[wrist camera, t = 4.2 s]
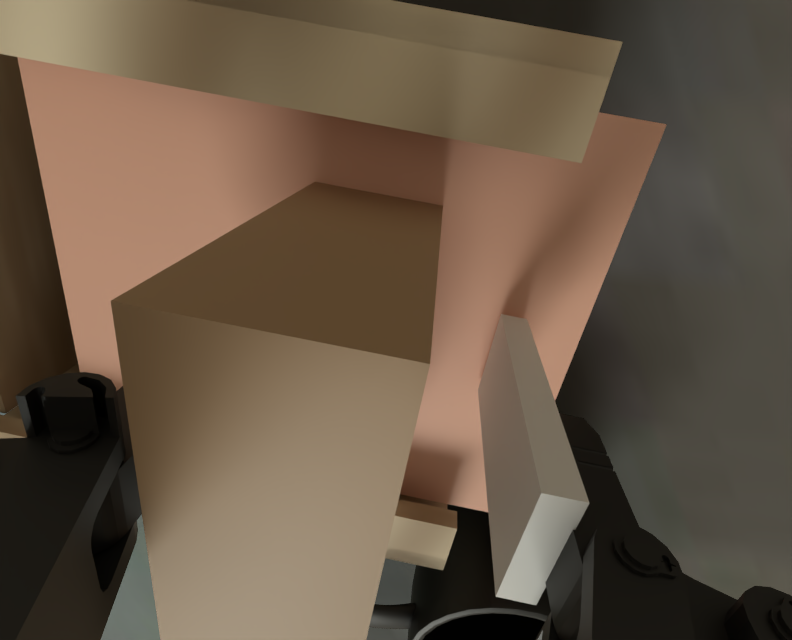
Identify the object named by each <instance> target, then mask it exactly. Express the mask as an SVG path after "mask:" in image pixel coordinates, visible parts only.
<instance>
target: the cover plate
mask: <svg viewBox="0 0 792 640" xmlns="http://www.w3.org/2000/svg"><path fill="white" fill-rule="evenodd" d="M17 58H18V63H19V68H20V73H21V78H22V83H23V88H24V93H25V99H26V104H27V109H28V114H29V119H30V124H31V129H32V134H33V139H34V144H35V149H36V154H37V159H38V164H39V169H40V174H41V179H42V184H43V189H44V194H45V199H46V204H47V209H48V214H49V219H50V224H51V229H52V234H53V239H54V244H55V249H56V255H57V260H58V265H59V270H60V275H61V280H62V285H63V290H64V295H65V300H66V305H67V310H68V315H69V320H70V325H71V330H72V335H73V340H74V345H75V350H76V355H77V360H78V365H79V370H80V372H88V373H95V374H100V375H102V376H105V377H107V378H109V379H111V381H112V382H113V384H114V386H115V387H116V391H117V390H119V389H120V388H121V387H122V386H123V389H124V395H125V402H126V409H127V416H128V423H129V429H130V436H131V443H132V450H133V456H134V463H135V470H136V477H137V483H138V490H139V497H140V504H141V510H142V517H143V524H144V531H145V538H146V544H147V551H148V558H149V565H150V571H151V578H152V585H153V592H154V598H155V605H156V612H157V619H158V626H159V632H160V639H161V640H366V638H367V634H368V629H369V625H370V621H371V616H372V612H373V608H374V604H375V599H376V595H377V591H378V586H379V582H380V578H381V573H382V569H383V565H384V560H385V556H386V552H387V548H388V543H389V539H390V535H391V530H392V526H393V522H394V517H395V513H396V509H397V505H398V500H399V496H400V494H401V495H406V496H411V497H416V498H421V499H426V500H430V501H435V502H440V503H445V504H450V505H455V506H459V507H464V508H469V509H474V510H479V511H484V512H488V503H487V491H486V479H485V468H484V456H483V444H482V432H481V421H480V409H479V397H478V388H479V385H480V381H481V378H482V375H483V372H484V368H485V365H486V362H487V358H488V355H489V352H490V349H491V345H492V342H493V339H494V335H495V332H496V329H497V326H498V322H499V319H500V316H501V314H504V315H509V316H514V317H519V318H524V319H527V321H528V323H529V326H530V329H531V332H532V335H533V338H534V341H535V344H536V347H537V350H538V353H539V356H540V359H541V362H542V365H543V368H544V371H545V373H546V376H547V379H548V382H549V385H550V388H551V391H552V394H553V397H554V400H556V397H557V395H558V392H559V390H560V387H561V385H562V383H563V380H564V378H565V375H566V373H567V370H568V368H569V365H570V363H571V360H572V358H573V355H574V353H575V350H576V348H577V345H578V343H579V340H580V338H581V335H582V333H583V331H584V328H585V326H586V323H587V321H588V318H589V316H590V313H591V311H592V308H593V306H594V303H595V301H596V298H597V296H598V293H599V291H600V288H601V286H602V283H603V281H604V278H605V276H606V274H607V271H608V269H609V266H610V264H611V261H612V259H613V256H614V254H615V251H616V249H617V246H618V244H619V241H620V239H621V236H622V234H623V231H624V229H625V226H626V224H627V222H628V219H629V217H630V214H631V212H632V209H633V207H634V204H635V202H636V199H637V197H638V194H639V192H640V189H641V187H642V184H643V182H644V179H645V177H646V174H647V172H648V169H649V167H650V165H651V162H652V160H653V157H654V155H655V152H656V150H657V147H658V145H659V142H660V140H661V137H662V135H663V132H664V130H665V127H666V125H667V124H661V123H656V122H650V121H645V120H639V119H633V118H628V117H622V116H617V115H611V114H606V113H600V112H599V113H598V116H597V119H596V122H595V125H594V128H593V131H592V134H591V137H590V140H589V143H588V146H587V148H586V151H585V154H584V157H583V160H582V163H578V162H572V161H567V160H562V159H557V158H551V157H546V156H541V155H535V154H530V153H525V152H519V151H514V150H509V149H503V148H498V147H493V146H487V145H482V144H477V143H472V142H466V141H461V140H456V139H450V138H445V137H440V136H434V135H429V134H424V133H418V132H413V131H408V130H402V129H397V128H392V127H387V126H381V125H376V124H371V123H365V122H360V121H355V120H349V119H344V118H339V117H333V116H328V115H323V114H317V113H312V112H307V111H302V110H296V109H291V108H286V107H280V106H275V105H270V104H264V103H259V102H254V101H248V100H243V99H238V98H232V97H227V96H222V95H217V94H211V93H206V92H201V91H195V90H190V89H185V88H179V87H174V86H169V85H163V84H158V83H153V82H147V81H142V80H137V79H132V78H126V77H121V76H116V75H110V74H105V73H100V72H94V71H89V70H84V69H78V68H73V67H68V66H62V65H57V64H52V63H47V62H41V61H36V60H31V59H25V58H20V57H17Z"/></svg>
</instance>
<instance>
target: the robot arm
mask: <svg viewBox="0 0 792 640" xmlns="http://www.w3.org/2000/svg"><path fill="white" fill-rule="evenodd" d="M478 397H479V409H480V421H481V432H482V444H483V456H484V468H485V479H486V491H487V503H488V514H489V526H490V538H491V549H492V561H493V573H494V584H495V596H496V597H499V598H504V599H509V600H513V601H518V602H522V603H527V604H532V605H537V603H538V601H539V599H540V597H541V595H542V593H543V592H544V590H545V588H547V593H548V598H549V604H550V609H551V612H550V614H549V616H548V618H547V619H546V621H545V623H544V625H543V627H542V629H541V630H540V632H539V634H538V636H537V638H536V639H535V640H792V596H790V595H789V594H786V593H784V592H781V591H778V590H776V589H773V588H771V587H762V586H754V587H752V588H750V589H748V590H747V591H745V592H744V593H743V594H742V596H741V597H740V598H739V599H738V600H736V599H734V598H732V597H730V596H728V595H726V594H724V593H722V592H720V591H717V590H715V589H713V588H711V587H709V586H707V585H705V584H703V583H701V582H699V581H697V580H694V579H693V578H691V577H689V576H687V575H685V574H684V573H682V571H681V568H680V565H679V563H678V561H677V560H676V558H675V557H674V556H673V554H672V553H671V552H670V551H669V549H668V548H667V547H666V546H665V545H664V544H663V543H662V542H660V541H659V540H658V539H657V538H656V537H655V536H653V535H652V534H651V533H649V532H647V531H646V530H644V529H642V528H640V527H639V525H638V523H637V521H636V519H635V516H634V514H633V512H632V509H631V507H630V505H629V503H628V500H627V498H626V496H625V493H624V491H623V489H622V487H621V484H620V482H619V480H618V477H617V475H616V473H615V471H613V466H612V464H611V461H610V459H609V457H608V456H606V454H607V452H606V450H605V448H604V445H603V443H602V441H601V439H600V436H599V435H598V434H597V432H596V431H595V430H594V429H593V428H592V427H591V426H590V425H589V424H588V423H587V422H586V420H585V419H584V418H579V417H574V416H570V415H565V414H560V413H559V412H558V409H557V406H556V403H555V400H554V397H553V394H552V391H551V388H550V385H549V382H548V379H547V376H546V373H545V371H544V368H543V365H542V362H541V359H540V356H539V353H538V350H537V347H536V344H535V341H534V338H533V335H532V332H531V329H530V326H529V323H528V321H527V319H524V318H519V317H514V316H509V315H504V314H501V316H500V319H499V322H498V326H497V329H496V332H495V335H494V339H493V342H492V345H491V349H490V352H489V355H488V358H487V362H486V365H485V368H484V372H483V375H482V378H481V381H480V385H479V388H478ZM16 400H17V403H18V407H19V410H20V414H21V417H22V421H23V424H24V428H25V431H26V435H27V437H25V438H0V640H100V639H101V637H102V634H103V631H104V628H105V626H106V623H107V620H108V617H109V615H110V612H111V609H112V606H113V604H114V601H115V598H116V595H117V593H118V590H119V587H120V584H121V582H122V579H123V576H124V573H125V571H126V568H127V565H128V563H129V560H130V557H131V554H132V552H133V549H134V546H135V543H136V540H137V532H138V528H137V519H138V518H139V517H140V515H141V514H142V510H141V504H140V497H139V490H138V483H137V477H136V470H135V463H134V456H133V450H132V443H131V436H130V429H129V423H128V416H127V409H126V402H125V395H124V389H123V386H122V387H121V388H120V389H119V390H117V391H116V387H115V386H114V384H113V382H112V381H111V379H109V378H107V377H105V376H102V375H100V374H95V373H88V372H77V373H64V374H60V375H56V376H52V377H48V378H45V379H43V380H40V381H38V382H36V383H34V384H31V385H29V386H28V387H26V388H25V389H24V390H22V391H21V392H20V393H19V394H17V395H16Z"/></svg>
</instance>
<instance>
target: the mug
mask: <svg viewBox="0 0 792 640" xmlns="http://www.w3.org/2000/svg"><path fill="white" fill-rule="evenodd" d="M447 509H448V510H453V511H457V531H456V534H455V537H454V540H453V543H452V546H451V549H450V552H449V555H448V558H447V561H446V563H445V566H444V569H443V570H439V569H434V568H429V567H425V566H420V565H416V569H415V574H414V579H413V585H412V595H411V603H409V604H400V605H377V604H374V608H373V612H372V616H371V621H370V625H369V627H372V628H382V629H409V630H408V640H535V639H536V638H537V636H538V634H539V632H540V630H541V629H542V627H543V625H544V623H545V621H546V619H547V618H548V616H549V614H550V612H551V609H550V604H549V598H548V593H547V588H545V590H544V592H543V593H542V595H541V597H540V599H539V601H538V603H537V605H532V604H527V603H522V602H518V601H513V600H509V599H504V598H499V597H496V596H495V584H494V573H493V561H492V549H491V538H490V526H489V514H488V512H484V511H479V510H474V509H469V508H464V507H459V506H455V505H450V504H447Z"/></svg>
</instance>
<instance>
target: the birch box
mask: <svg viewBox="0 0 792 640" xmlns="http://www.w3.org/2000/svg"><path fill="white" fill-rule="evenodd" d="M622 43H623V42H620V41H615V40H609V39H604V38H598V37H593V36H587V35H582V34H576V33H570V32H565V31H559V30H554V29H548V28H543V27H537V26H532V25H526V24H521V23H515V22H509V21H504V20H498V19H493V18H487V17H482V16H476V15H471V14H465V13H460V12H454V11H448V10H443V9H437V8H432V7H426V6H421V5H415V4H410V3H404V2H399V1H393V0H0V412H2V413H7V412H8V413H7V414H5V415H4V416H3V415H0V438H25V437H27V435H26V431H25V428H24V424H23V421H22V417H21V414H20V410H19V407H18V406H17V405H18V403H17V400H16V395H17V394H19V393H20V392H21V391H22V390H24V389H25V388H26V387H28V386H29V385H31V384H34V383H36V382H38V381H40V380H43V379H45V378H48V377H52V376H56V375H60V374H64V373H77V372H80V370H79V365H78V360H77V355H76V350H75V345H74V340H73V335H72V330H71V325H70V320H69V315H68V310H67V305H66V300H65V295H64V290H63V285H62V280H61V275H60V270H59V265H58V260H57V255H56V249H55V244H54V239H53V234H52V229H51V224H50V219H49V214H48V209H47V204H46V199H45V194H44V189H43V184H42V179H41V174H40V169H39V164H38V159H37V154H36V149H35V144H34V139H33V134H32V129H31V124H30V119H29V114H28V109H27V104H26V99H25V93H24V88H23V83H22V78H21V73H20V68H19V63H18V58H17V57H20V58H25V59H31V60H36V61H41V62H47V63H52V64H57V65H62V66H68V67H73V68H78V69H84V70H89V71H94V72H100V73H105V74H110V75H116V76H121V77H126V78H132V79H137V80H142V81H147V82H153V83H158V84H163V85H169V86H174V87H179V88H185V89H190V90H195V91H201V92H206V93H211V94H217V95H222V96H227V97H232V98H238V99H243V100H248V101H254V102H259V103H264V104H270V105H275V106H280V107H286V108H291V109H296V110H302V111H307V112H312V113H317V114H323V115H328V116H333V117H339V118H344V119H349V120H355V121H360V122H365V123H371V124H376V125H381V126H387V127H392V128H397V129H402V130H408V131H413V132H418V133H424V134H429V135H434V136H440V137H445V138H450V139H456V140H461V141H466V142H472V143H477V144H482V145H487V146H493V147H498V148H503V149H509V150H514V151H519V152H525V153H530V154H535V155H541V156H546V157H551V158H557V159H562V160H567V161H572V162H578V163H582V160H583V157H584V154H585V151H586V148H587V146H588V143H589V140H590V137H591V134H592V131H593V128H594V125H595V122H596V119H597V116H598V113H599V110H600V107H601V104H602V101H603V98H604V96H605V93H606V90H607V87H608V84H609V81H610V78H611V75H612V72H613V69H614V66H615V63H616V60H617V57H618V54H619V51H620V48H621V45H622ZM16 406H17V407H16ZM13 408H14V409H13ZM10 410H11V411H10ZM456 531H457V511H453V510H448V509H447V504H445V503H440V502H435V501H430V500H426V499H421V498H416V497H411V496H406V495H401V494H400V496H399V500H398V505H397V509H396V513H395V517H394V522H393V526H392V530H391V535H390V539H389V543H388V548H387V552H386V556H385V558H387V559H392V560H397V561H401V562H406V563H411V564H415V565H420V566H425V567H429V568H434V569H439V570H443V569H444V566H445V563H446V561H447V558H448V555H449V552H450V549H451V546H452V543H453V540H454V537H455V534H456Z"/></svg>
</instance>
